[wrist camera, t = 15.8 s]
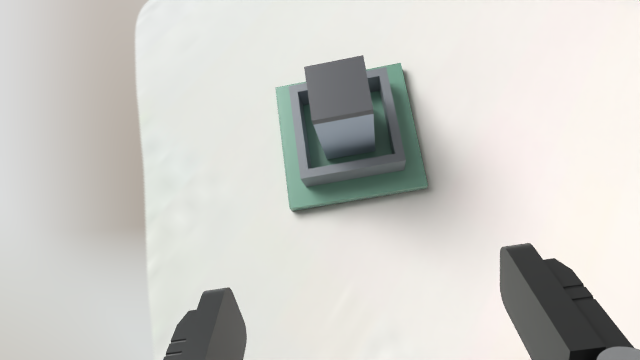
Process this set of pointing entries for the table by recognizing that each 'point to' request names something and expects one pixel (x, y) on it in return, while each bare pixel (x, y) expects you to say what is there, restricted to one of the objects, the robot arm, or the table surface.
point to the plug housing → (341, 107)
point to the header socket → (356, 170)
